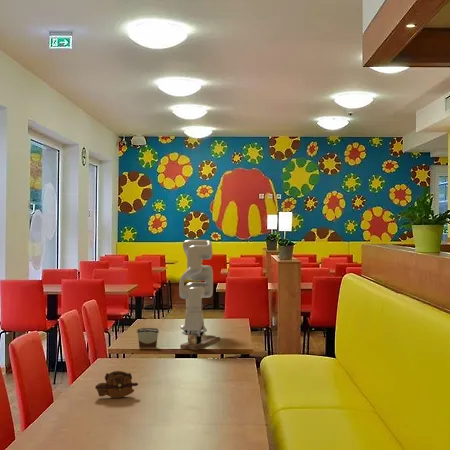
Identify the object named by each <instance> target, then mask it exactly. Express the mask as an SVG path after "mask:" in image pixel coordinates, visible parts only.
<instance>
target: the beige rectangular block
mask: <svg viewBox="0 0 450 450" xmlns="http://www.w3.org/2000/svg"><path fill="white" fill-rule="evenodd" d="M197 336H198V333H197V332H194V333H191V334H190V335H187V342H188V344H193V345H195V344H198V343H197Z"/></svg>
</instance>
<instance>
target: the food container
mask: <svg viewBox="0 0 450 450" xmlns="http://www.w3.org/2000/svg"><path fill="white" fill-rule="evenodd" d="M136 334H137V338H138V339H137V340H138V348H139V347H146V348H147V349H157V343H158V336H159V335H158V334H160V331H159V328H157V327H139V328H137V330H136Z"/></svg>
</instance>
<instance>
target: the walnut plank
mask: <svg viewBox="0 0 450 450" xmlns="http://www.w3.org/2000/svg"><path fill="white" fill-rule="evenodd" d="M220 341H221V337H220V336H216V335H210V334H207V335H204V336H203V335H202V336H201V343H199V344H195V345H193V344H188V341H187V342H185V343H182V344H180V350H181V349H182V350H191V351H192V350H193V351H198V350H200V349H203V348H206V347H208V346H211V345H213V344H215V343H218V342H220Z"/></svg>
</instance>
